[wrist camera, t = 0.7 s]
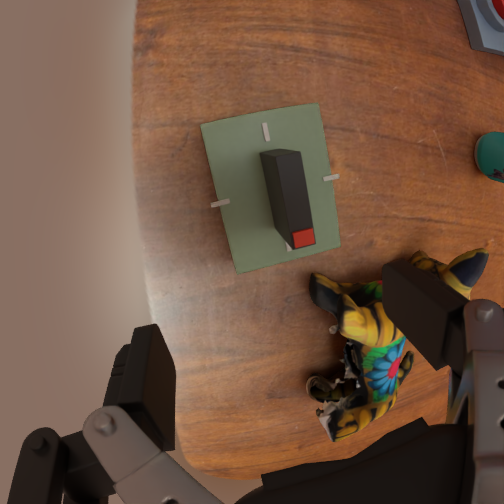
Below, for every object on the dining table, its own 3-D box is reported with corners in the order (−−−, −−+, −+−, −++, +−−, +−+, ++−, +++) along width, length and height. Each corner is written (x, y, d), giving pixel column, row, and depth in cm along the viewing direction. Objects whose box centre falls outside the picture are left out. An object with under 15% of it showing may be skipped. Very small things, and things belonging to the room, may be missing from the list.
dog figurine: (298, 369, 40) (418, 335, 40) (320, 453, 29) (457, 404, 29) (283, 239, 29) (446, 208, 29) (322, 345, 18) (523, 278, 18)
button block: (443, -35, 20) (463, -44, 16) (485, -19, 21) (504, -25, 17) (471, 49, 24) (494, 45, 21) (509, 57, 25) (530, 56, 21)
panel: (192, 128, 24) (191, 126, 21) (312, 104, 25) (326, 101, 22) (226, 262, 29) (230, 277, 26) (333, 234, 29) (348, 245, 26)
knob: (259, 152, 23) (275, 156, 18) (280, 148, 23) (302, 151, 18) (274, 228, 25) (294, 252, 20) (294, 223, 25) (317, 245, 20)
